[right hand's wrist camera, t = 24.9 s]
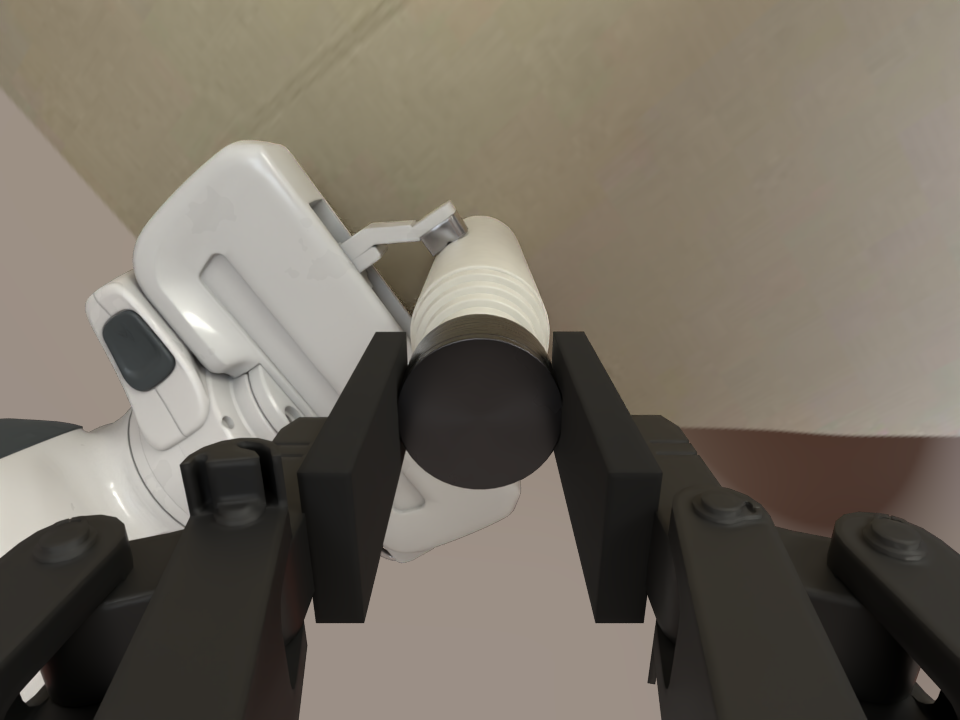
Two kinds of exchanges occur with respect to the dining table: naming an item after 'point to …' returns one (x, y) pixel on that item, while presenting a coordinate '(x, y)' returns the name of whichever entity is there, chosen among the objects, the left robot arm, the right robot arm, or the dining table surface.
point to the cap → (479, 403)
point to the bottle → (480, 282)
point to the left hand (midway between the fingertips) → (496, 271)
